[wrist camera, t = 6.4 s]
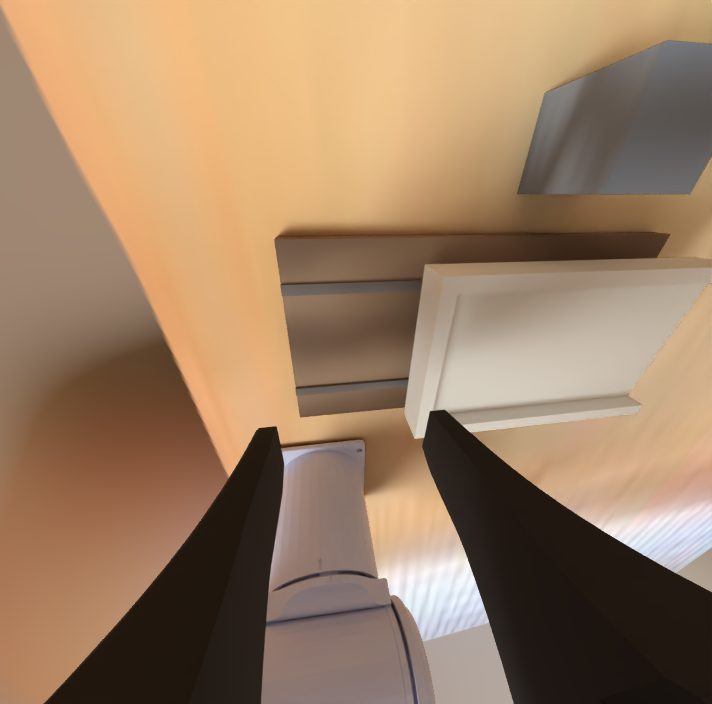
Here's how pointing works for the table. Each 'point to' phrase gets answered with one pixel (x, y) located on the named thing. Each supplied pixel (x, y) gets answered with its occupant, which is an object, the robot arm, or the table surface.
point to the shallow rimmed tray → (543, 337)
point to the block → (627, 127)
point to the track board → (393, 302)
